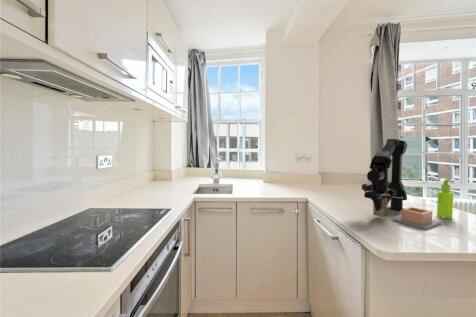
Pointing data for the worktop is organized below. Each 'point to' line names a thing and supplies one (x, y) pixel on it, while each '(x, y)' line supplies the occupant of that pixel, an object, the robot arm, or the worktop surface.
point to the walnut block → (381, 208)
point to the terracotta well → (417, 218)
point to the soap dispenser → (445, 200)
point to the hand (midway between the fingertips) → (380, 210)
